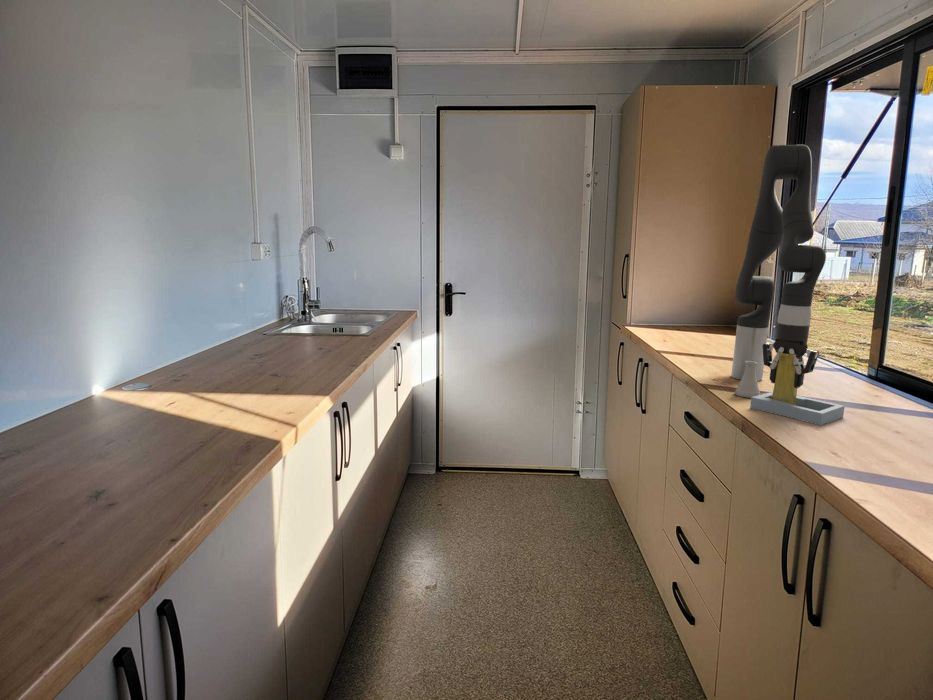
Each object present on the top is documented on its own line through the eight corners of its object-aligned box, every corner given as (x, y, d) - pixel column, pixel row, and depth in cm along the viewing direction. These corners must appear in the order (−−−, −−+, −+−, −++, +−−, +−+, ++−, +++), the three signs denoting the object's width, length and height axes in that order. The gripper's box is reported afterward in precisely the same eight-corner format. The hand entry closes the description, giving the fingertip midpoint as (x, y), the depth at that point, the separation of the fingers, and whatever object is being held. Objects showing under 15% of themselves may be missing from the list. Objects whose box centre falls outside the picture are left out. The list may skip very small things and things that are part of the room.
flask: (763, 399, 175) (768, 365, 173) (736, 397, 177) (740, 363, 175) (757, 393, 182) (761, 360, 180) (731, 391, 184) (735, 358, 182)
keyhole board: (773, 401, 174) (775, 390, 173) (843, 417, 160) (844, 405, 159) (750, 407, 166) (751, 397, 165) (820, 425, 152) (822, 413, 152)
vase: (786, 409, 161) (793, 355, 159) (765, 403, 167) (771, 351, 164) (801, 406, 164) (808, 354, 162) (780, 400, 170) (786, 350, 167)
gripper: (829, 325, 158) (820, 389, 161) (773, 318, 169) (765, 378, 172) (816, 327, 154) (806, 393, 157) (759, 319, 165) (752, 381, 168)
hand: (785, 384), depth 165 cm, fingers closed on vase, 5 cm apart
